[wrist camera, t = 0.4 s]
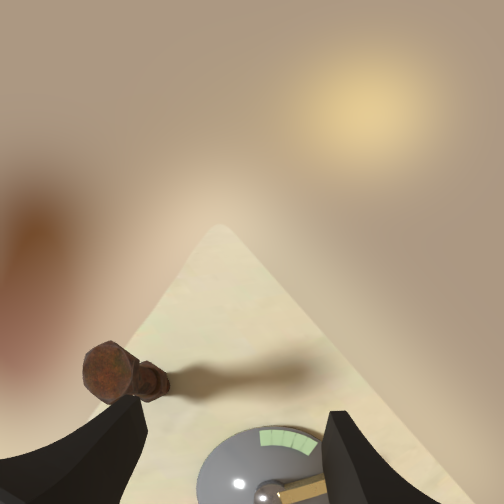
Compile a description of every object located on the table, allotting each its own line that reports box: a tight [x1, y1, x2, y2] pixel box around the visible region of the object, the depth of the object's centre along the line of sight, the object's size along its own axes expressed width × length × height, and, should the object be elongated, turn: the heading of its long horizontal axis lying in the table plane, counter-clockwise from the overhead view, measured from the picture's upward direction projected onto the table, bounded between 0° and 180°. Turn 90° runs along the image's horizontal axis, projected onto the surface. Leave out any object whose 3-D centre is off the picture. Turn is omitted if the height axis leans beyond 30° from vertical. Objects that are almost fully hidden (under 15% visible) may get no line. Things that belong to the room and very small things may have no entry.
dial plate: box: [196, 426, 329, 504], centre depth 29 cm, size 18×18×1 cm
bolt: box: [83, 341, 170, 405], centre depth 30 cm, size 6×5×15 cm
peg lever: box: [254, 473, 327, 504], centre depth 28 cm, size 11×4×3 cm, turn 105°
